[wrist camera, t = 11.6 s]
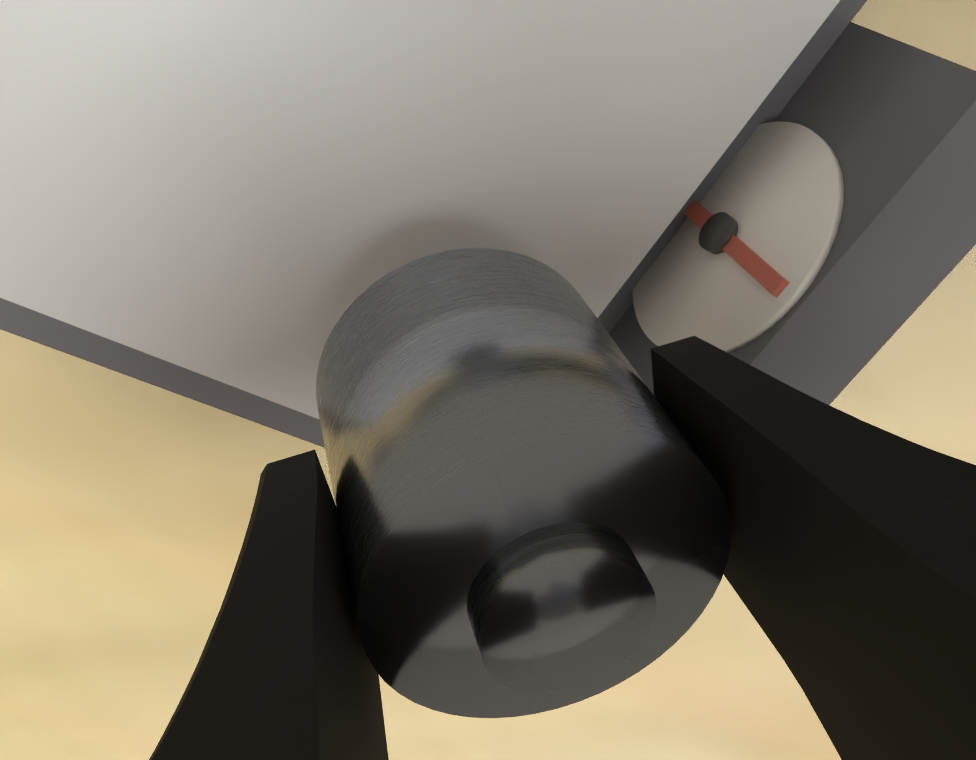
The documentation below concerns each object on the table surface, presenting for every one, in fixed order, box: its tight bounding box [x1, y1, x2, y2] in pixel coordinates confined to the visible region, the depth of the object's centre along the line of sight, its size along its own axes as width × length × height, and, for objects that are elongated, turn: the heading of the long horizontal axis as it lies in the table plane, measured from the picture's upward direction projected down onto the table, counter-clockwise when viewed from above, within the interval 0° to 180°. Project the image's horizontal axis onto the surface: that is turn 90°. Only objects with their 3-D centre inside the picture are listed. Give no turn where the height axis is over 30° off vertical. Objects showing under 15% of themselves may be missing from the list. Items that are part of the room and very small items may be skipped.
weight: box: [316, 248, 732, 718], centre depth 12 cm, size 4×4×5 cm
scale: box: [0, 0, 976, 447], centre depth 13 cm, size 17×15×6 cm
